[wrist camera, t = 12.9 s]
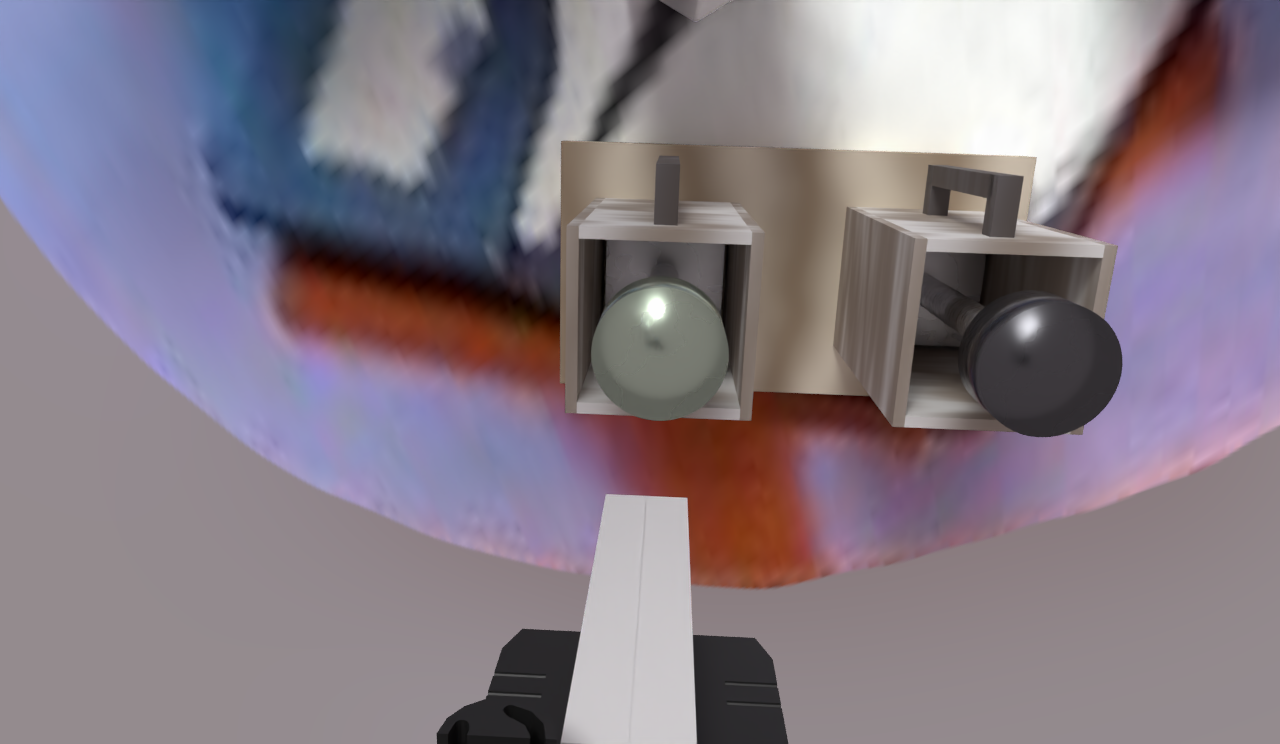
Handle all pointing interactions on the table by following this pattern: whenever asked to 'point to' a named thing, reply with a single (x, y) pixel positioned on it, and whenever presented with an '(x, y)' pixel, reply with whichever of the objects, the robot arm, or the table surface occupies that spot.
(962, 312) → the plunger
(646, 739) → the robot arm
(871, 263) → the stand
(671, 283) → the plunger
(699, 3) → the jar
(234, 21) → the table surface
